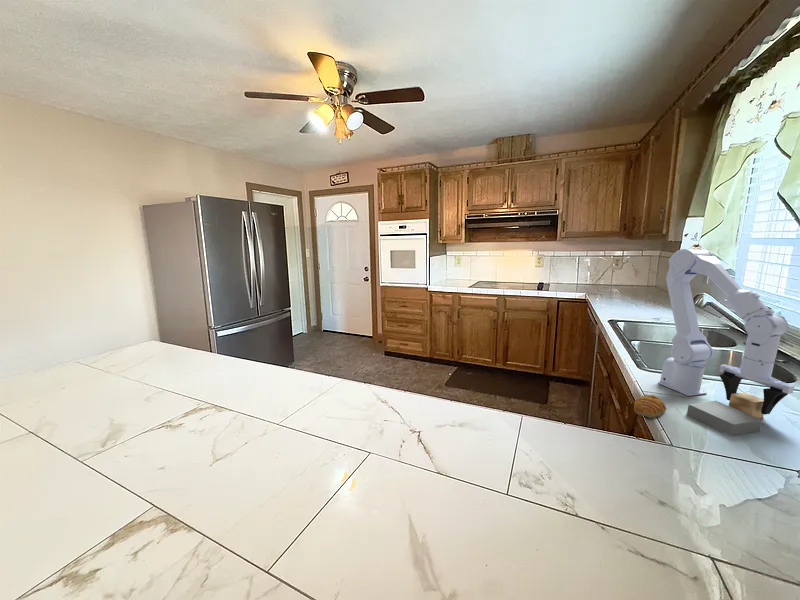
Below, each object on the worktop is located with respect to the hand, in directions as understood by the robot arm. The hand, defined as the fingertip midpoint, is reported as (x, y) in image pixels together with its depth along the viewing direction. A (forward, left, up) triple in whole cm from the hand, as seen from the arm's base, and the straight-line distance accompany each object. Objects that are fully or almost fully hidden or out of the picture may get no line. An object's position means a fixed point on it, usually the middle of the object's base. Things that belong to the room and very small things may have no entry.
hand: (747, 406), depth 90 cm
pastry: (-7, -26, -3) cm, 27 cm away
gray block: (+2, -12, -2) cm, 12 cm away
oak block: (0, 0, -2) cm, 2 cm away
